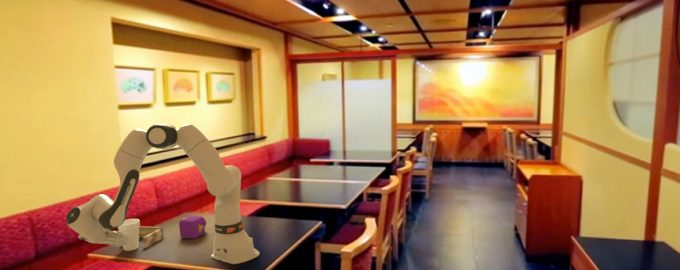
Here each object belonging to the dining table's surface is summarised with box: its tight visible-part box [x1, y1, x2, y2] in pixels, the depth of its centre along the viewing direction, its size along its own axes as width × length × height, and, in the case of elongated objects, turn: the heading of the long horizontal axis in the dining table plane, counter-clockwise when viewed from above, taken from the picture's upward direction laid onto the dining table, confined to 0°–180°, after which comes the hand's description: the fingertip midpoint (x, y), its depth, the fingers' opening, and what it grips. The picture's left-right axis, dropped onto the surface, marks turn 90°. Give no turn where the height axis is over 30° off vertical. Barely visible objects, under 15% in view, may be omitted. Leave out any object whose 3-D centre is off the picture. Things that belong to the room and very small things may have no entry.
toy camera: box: [178, 215, 207, 240], centre depth 215 cm, size 11×14×10 cm
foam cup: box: [117, 218, 141, 252], centre depth 199 cm, size 10×9×13 cm
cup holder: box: [120, 225, 164, 249], centre depth 208 cm, size 13×14×6 cm
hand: (117, 244), depth 192 cm, fingers closed
